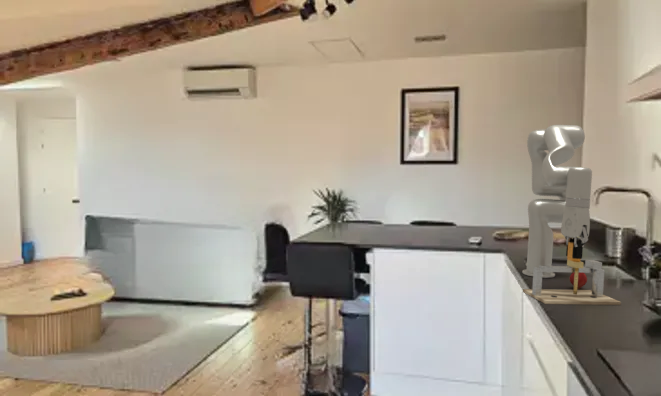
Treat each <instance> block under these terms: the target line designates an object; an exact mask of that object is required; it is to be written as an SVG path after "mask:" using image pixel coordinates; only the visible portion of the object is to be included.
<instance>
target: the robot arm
mask: <svg viewBox="0 0 661 396" xmlns="http://www.w3.org/2000/svg"><path fill="white" fill-rule="evenodd" d="M585 137H586V134H585V130H583V128H582V127H581V126H580V125H576V124H575V125H574V124H570V125H569V124H553V125H549V126H548V127H546V129H536V130H535V129H534V130H532V131H531V132H529V134H528V136H527V140H526V143H527V151H528V155H529V158H530V161H531V190H532V193H533V194H534V195H535V196H539V197H541V196H542V197H558V199H552V198H535V199H533V200H531V201H530V202H529V203H528V205H527V213H528V242H527V257H526V262H525V266H526V269H523V270H522V274H523V275H525V276H529V277H533V271H534V267H539V266H553V265H552V264H553V263H552V262H553V260H552V259H553V249H554V232H553V230H552V228H551V226H550V225H549V224H548V223H551V224H552V223H555V224H561V229H560V233H561V235H562V236H563V237H564V239H565V245H566V250H565V251H566V252H565V256H566V257H567V255H568V242H574V246H575V247H573V253H572V258H573V259H581V260H582V259H583V251H584V246H585V244H586V243H587V242H588V241H589V236H590V230H591V229H590V228H591V227H590V226H591V224H590V223H591V222H590V221H591V219H590V217H591V215H590V208H591V207H590V205H591V191H592V179H593V178H592V177H593V170H592V169H591V168H589V167H583V166H582V167H581V166H568V165H567V166H563V165H562V164H565V163H567V162H569V161H570V160H571V159H573V157H574V155H575V150H576V149H578V148H580V147H582V146H583V145H584V142H585ZM546 151H548V152H546ZM555 277H556V272H543V274H542V279H543V278H544V279H546V278H547V279H549V278H555Z"/></svg>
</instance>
